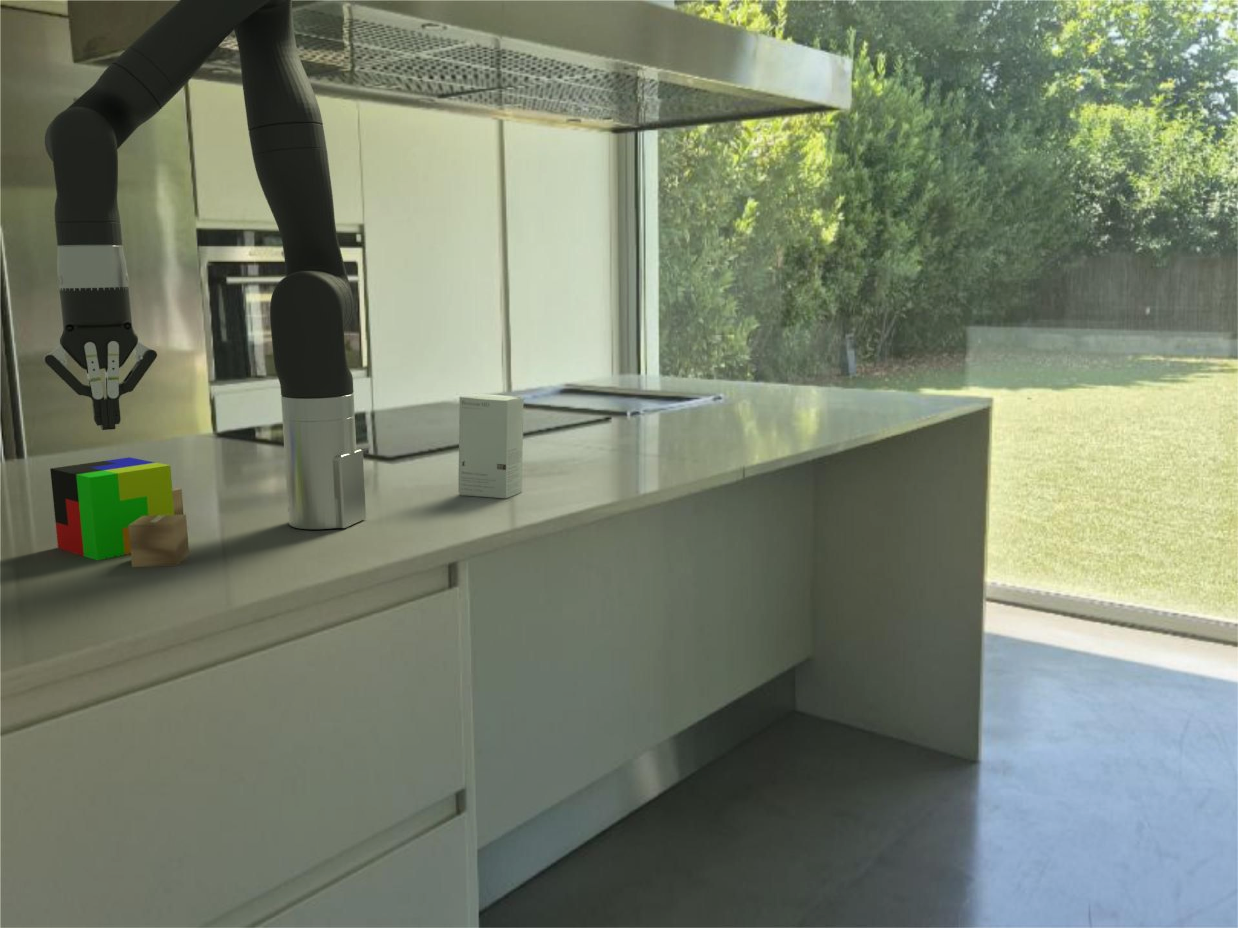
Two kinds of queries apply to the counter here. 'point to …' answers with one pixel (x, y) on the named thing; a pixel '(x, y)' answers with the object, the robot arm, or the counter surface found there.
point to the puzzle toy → (107, 503)
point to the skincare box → (490, 445)
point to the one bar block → (158, 540)
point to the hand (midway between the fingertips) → (107, 428)
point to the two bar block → (177, 501)
